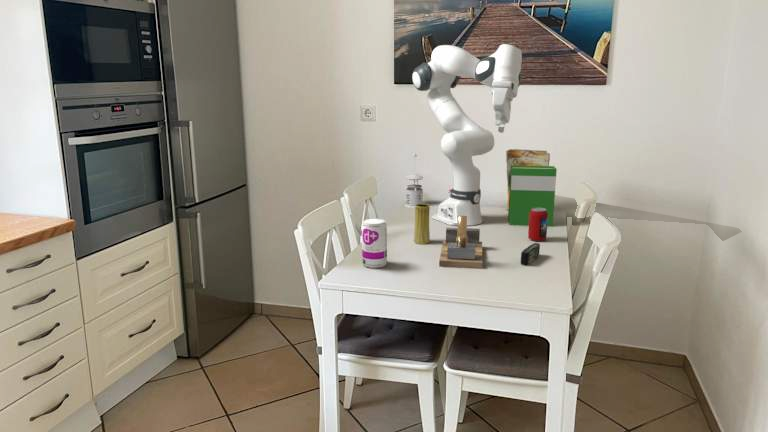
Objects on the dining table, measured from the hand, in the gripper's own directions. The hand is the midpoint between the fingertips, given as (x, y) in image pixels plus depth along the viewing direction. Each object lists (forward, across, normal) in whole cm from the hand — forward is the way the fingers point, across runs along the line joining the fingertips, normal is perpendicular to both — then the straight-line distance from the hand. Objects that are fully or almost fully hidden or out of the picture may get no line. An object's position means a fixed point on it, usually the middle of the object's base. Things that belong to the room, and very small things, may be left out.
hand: (499, 128), depth 200 cm
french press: (+23, -68, -45) cm, 85 cm away
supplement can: (+53, +14, -32) cm, 64 cm away
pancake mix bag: (+19, -72, +6) cm, 75 cm away
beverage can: (+34, -29, +16) cm, 48 cm away
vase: (+42, -14, -25) cm, 51 cm away
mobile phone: (+43, -6, +16) cm, 47 cm away
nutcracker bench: (+46, -2, -7) cm, 46 cm away
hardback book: (+26, -52, +11) cm, 59 cm away
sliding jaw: (+46, +5, -6) cm, 46 cm away
